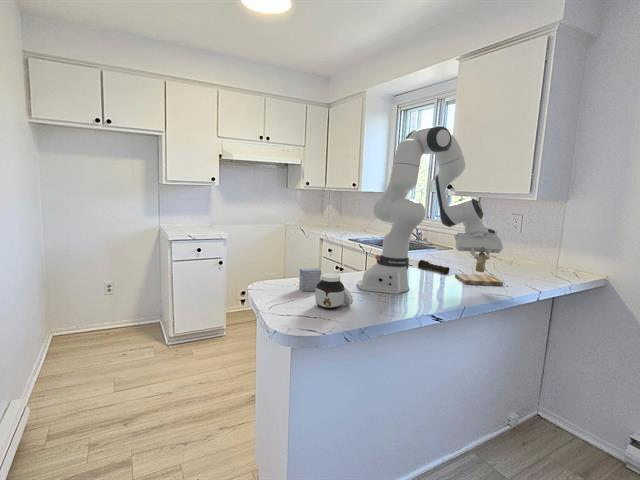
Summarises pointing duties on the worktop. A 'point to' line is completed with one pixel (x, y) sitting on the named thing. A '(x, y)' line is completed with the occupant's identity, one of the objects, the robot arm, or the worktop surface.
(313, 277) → the medicine box
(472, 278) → the board
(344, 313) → the worktop surface
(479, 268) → the brown bottle
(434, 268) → the hand tool
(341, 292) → the spread jar
